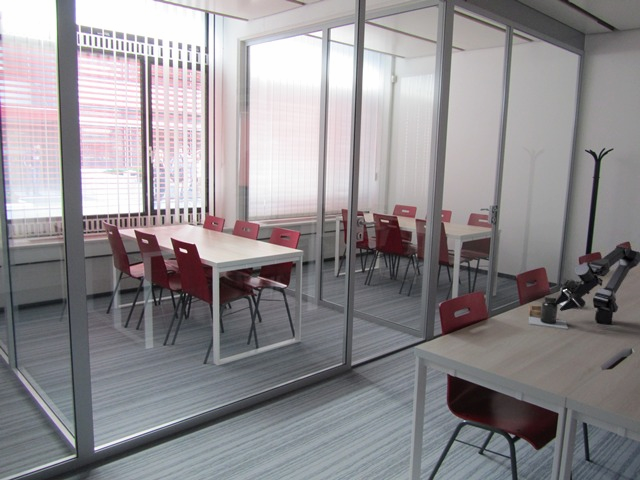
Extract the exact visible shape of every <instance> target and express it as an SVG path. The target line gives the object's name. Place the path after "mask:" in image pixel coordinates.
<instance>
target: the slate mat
mask: <svg viewBox="0 0 640 480" xmlns="http://www.w3.org/2000/svg"><path fill="white" fill-rule="evenodd" d="M528 324H529V325H532V326H539V327H546V328H555V329H562V330H569V328H568V325H567V321H565V320H556V323H555V324H546V323H543V322H541V321H540V318H537V317H530V316H528Z"/></svg>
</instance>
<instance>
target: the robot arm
mask: <svg viewBox="0 0 640 480" xmlns="http://www.w3.org/2000/svg"><path fill="white" fill-rule="evenodd" d="M617 262H619V263H618V266H617V267H616V269H615V271H614V272H613V274H612V275H611V277H610V278H609V280H608V282H607V284H606V286H605V287H604V288H598V289H597V290H596V293H594V295H593V299H592V304H593V308H594V309H596V310H595V313H594V321H595V322H596V323H597V324H602V325H611V326H613V317H614V316H613V315H614V313H616V312H618V309H619V306H618V305H617V303H616V300H617V296H616V294H617V292H618V290H619V288H620V286H622V283H623V282H624V280H625V279H626V277H627V275H628V273H629V272H630V270H631V269H634V268H635V267H637V266H638V265H639V263H640V251H637V250H632V248H628V247H627V246H622V245H617V246H616V247H615V248H614V249H613V250H612V251H611V252H609V253H608V254H607V255H605V256H604V257H602V258H600V259H594V260H592V261H591V262H590V263H588V262H585V261H584V262H583V263H581V264H579V265H577V266H575V269H574V272H575V274H576V275H577V276H578V278H579V279H580V281H578V280H576V281H575V280H573V278H572V279H571V278H570V279H569V278H566V277H565V276H563V277H562V280H560V284H561V286H560V288H559V294H558V297H556V302H555V303H557V305H558V306H559V305H560V303H563V302H565V301H567V302H566V303H565V304H564V305H563V306H562V305H561V306H560V308H559V311H560V312H563V311H569V310H573V309H576V308H584V307H585V306H586V301H585V300H584V299H583V298H582V297H584V296H585V295H586V294H587V295H590V294H591V293H590V291H592V290H593V289H594V288H596V287H597V286H600V287H602V286H603V282H604V280H603V279H601V277H605V276H607V275H608V274H609V273H610V269H611V267H612V266H614V265H615V264H616V263H617ZM599 276H600V277H599ZM561 289H562V290H561ZM568 296H569V297H568Z"/></svg>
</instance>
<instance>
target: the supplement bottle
mask: <svg viewBox="0 0 640 480" xmlns="http://www.w3.org/2000/svg"><path fill="white" fill-rule="evenodd" d="M556 299H557V297H556V296H553V295H545V296H544V299H543V301H542V302H541V305H540V306H541V317H540V321H541V322H543V323H546V324H555V323H556V320H557V317H558V309H559V304H558V305H557V303H555V302H556Z"/></svg>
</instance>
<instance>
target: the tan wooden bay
mask: <svg viewBox="0 0 640 480" xmlns="http://www.w3.org/2000/svg"><path fill="white" fill-rule="evenodd" d="M541 306H542V305H535V304H529V306H528V315H529V316H528V317H536V318H540V317H541Z"/></svg>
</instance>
